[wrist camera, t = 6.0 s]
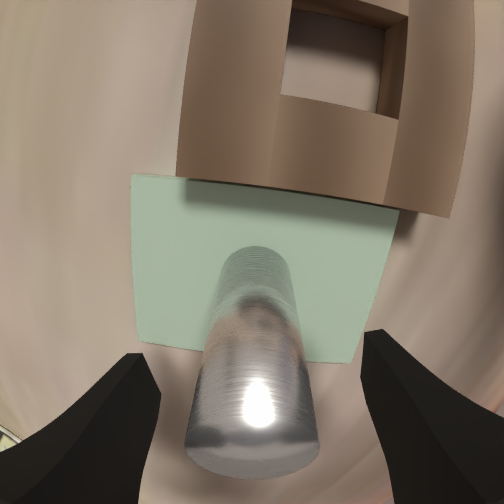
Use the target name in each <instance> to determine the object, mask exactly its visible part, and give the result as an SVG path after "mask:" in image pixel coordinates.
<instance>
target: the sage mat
mask: <svg viewBox="0 0 504 504" xmlns="http://www.w3.org/2000/svg"><path fill="white" fill-rule="evenodd" d="M399 212H400V210H398V209H397V208H396V207H392V206H387V205H382V204H376V203H371V202H365V201H360V200H354V199H348V198H342V197H336V196H330V195H324V194H317V193H311V192H304V191H297V190H290V189H283V188H275V187H268V186H260V185H252V184H243V183H235V182H226V181H216V180H206V179H196V178H185V177H173V176H160V175H147V174H135V175H133V176H131V254H132V275H133V291H134V304H135V315H136V326H137V335H138V341H143V342H148V343H154V344H160V345H166V346H172V347H178V348H184V349H191V350H198V351H204V346H205V342H206V337H207V333H208V328H209V323H210V319H211V314H212V310H213V306H214V301H215V297H216V292H217V288H218V283H219V279H220V275H221V271H222V267H223V265H224V263H225V261H226V260H227V258H228V257H229V256H230V255H231V254H232V253H234V252H235V251H237V250H239V249H241V248H244V247H248V246H263V247H267V248H270V249H272V250H274V251H276V252H277V253H279V254H280V255H281V256H282V257H283V258H284V260H285V261H286V263H287V264H288V267H289V270H290V275H291V280H292V285H293V290H294V296H295V301H296V306H297V312H298V317H299V323H300V328H301V334H302V340H303V345H304V351H305V357H306V361H309V362H330V363H351V360H352V358H353V355H354V353H355V350H356V348H357V345H358V343H359V340H360V337H361V335H362V332H363V329H364V327H365V324H366V321H367V318H368V316H369V313H370V310H371V307H372V304H373V301H374V298H375V295H376V292H377V289H378V286H379V283H380V280H381V277H382V274H383V270H384V267H385V264H386V260H387V257H388V254H389V250H390V247H391V243H392V239H393V236H394V232H395V228H396V224H397V220H398V217H399Z"/></svg>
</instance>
